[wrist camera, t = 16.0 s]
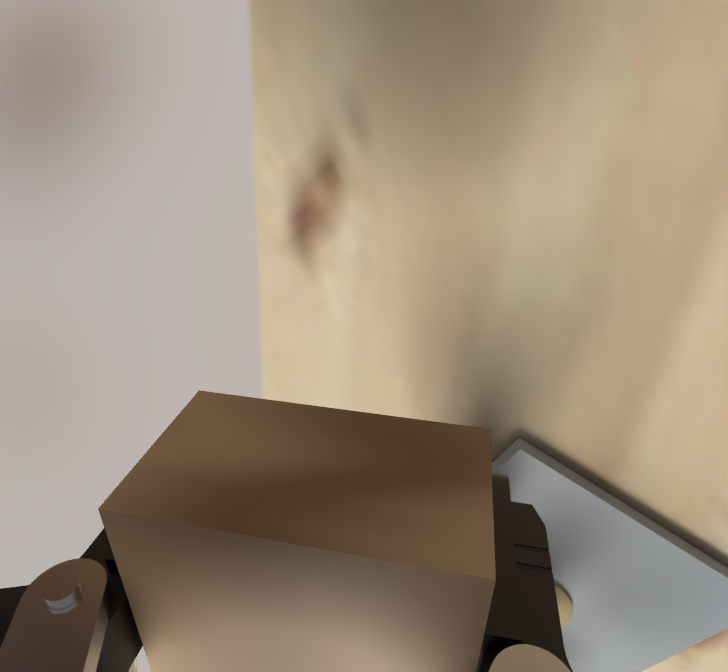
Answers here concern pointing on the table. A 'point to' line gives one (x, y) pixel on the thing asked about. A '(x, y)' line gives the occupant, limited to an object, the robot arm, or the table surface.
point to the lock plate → (616, 570)
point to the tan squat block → (306, 540)
